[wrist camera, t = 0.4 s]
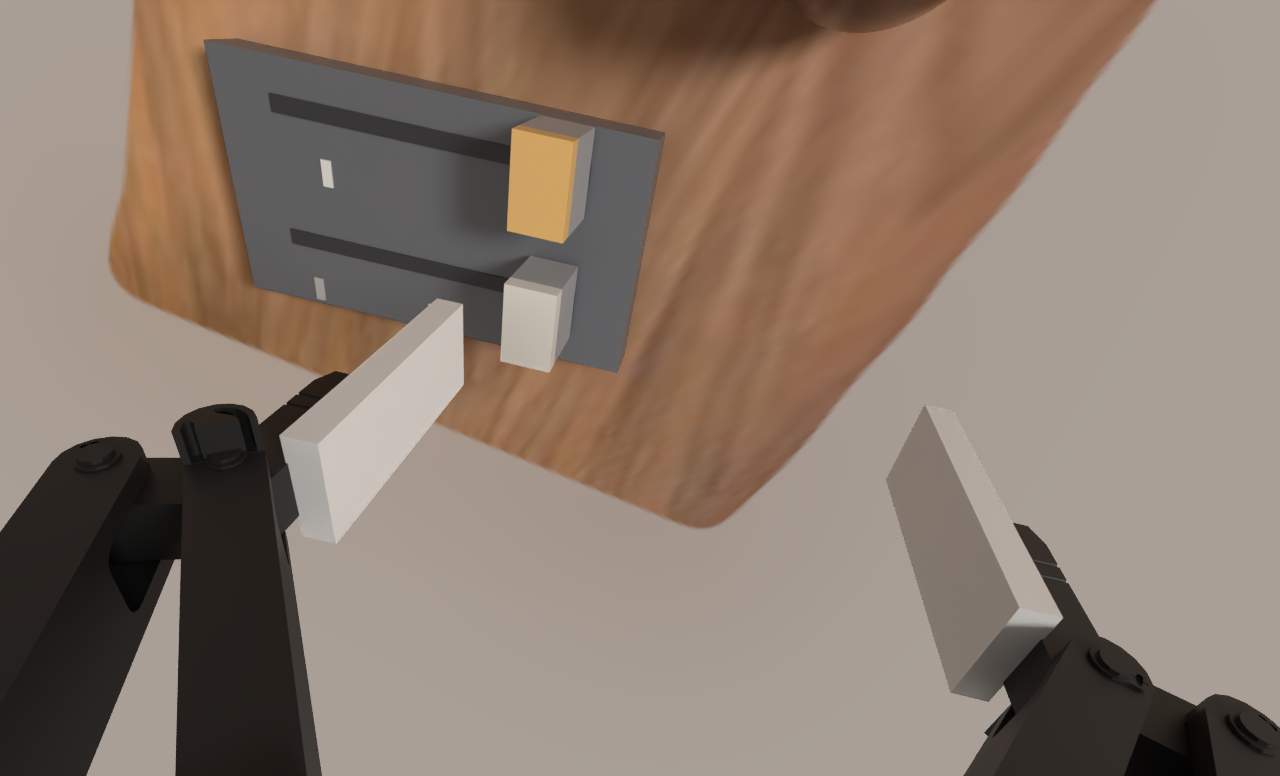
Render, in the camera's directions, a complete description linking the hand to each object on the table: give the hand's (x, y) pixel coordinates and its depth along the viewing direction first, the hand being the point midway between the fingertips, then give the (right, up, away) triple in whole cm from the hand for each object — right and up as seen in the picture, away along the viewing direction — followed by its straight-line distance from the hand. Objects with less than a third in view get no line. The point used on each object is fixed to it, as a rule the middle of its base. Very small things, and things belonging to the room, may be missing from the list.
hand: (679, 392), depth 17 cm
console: (-14, +12, +21) cm, 28 cm away
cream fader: (-7, +6, +20) cm, 22 cm away
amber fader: (-5, +12, +16) cm, 21 cm away
